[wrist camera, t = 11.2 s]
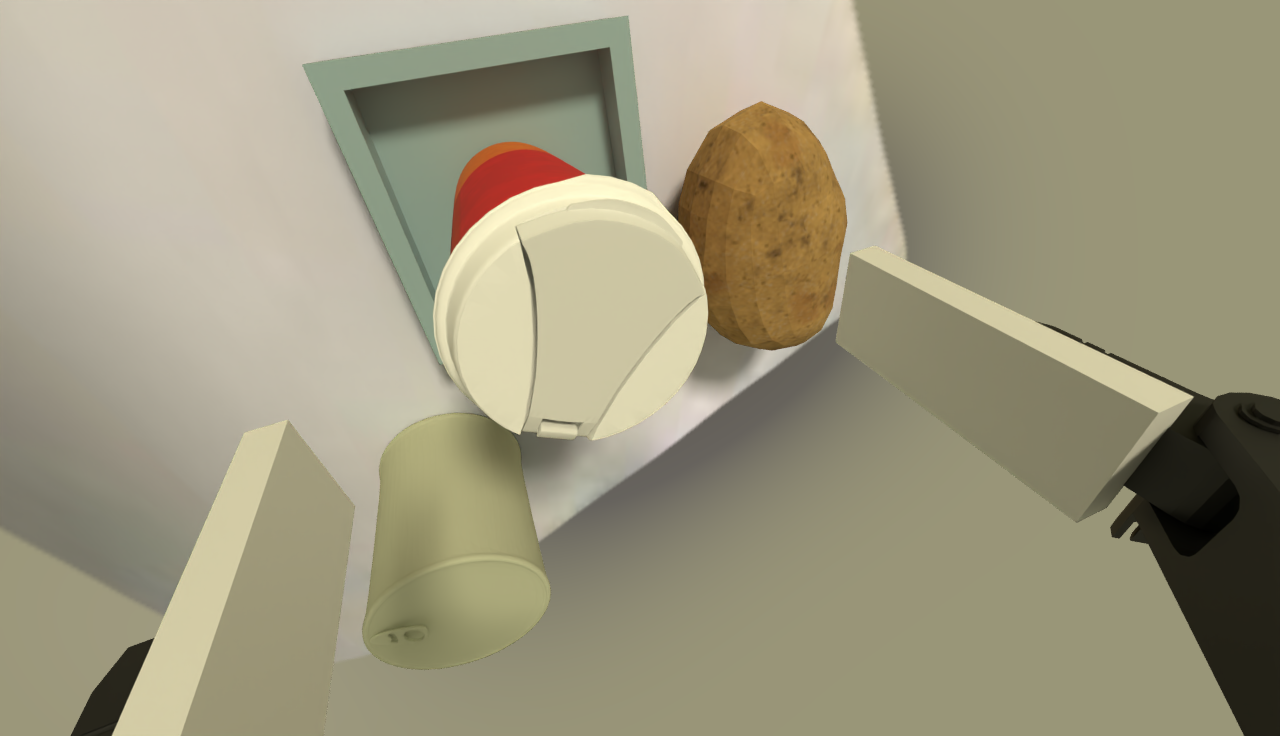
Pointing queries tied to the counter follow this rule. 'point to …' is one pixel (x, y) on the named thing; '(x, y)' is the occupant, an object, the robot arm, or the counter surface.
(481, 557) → the can
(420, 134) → the tray
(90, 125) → the counter surface
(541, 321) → the coffee cup
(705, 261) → the potato
